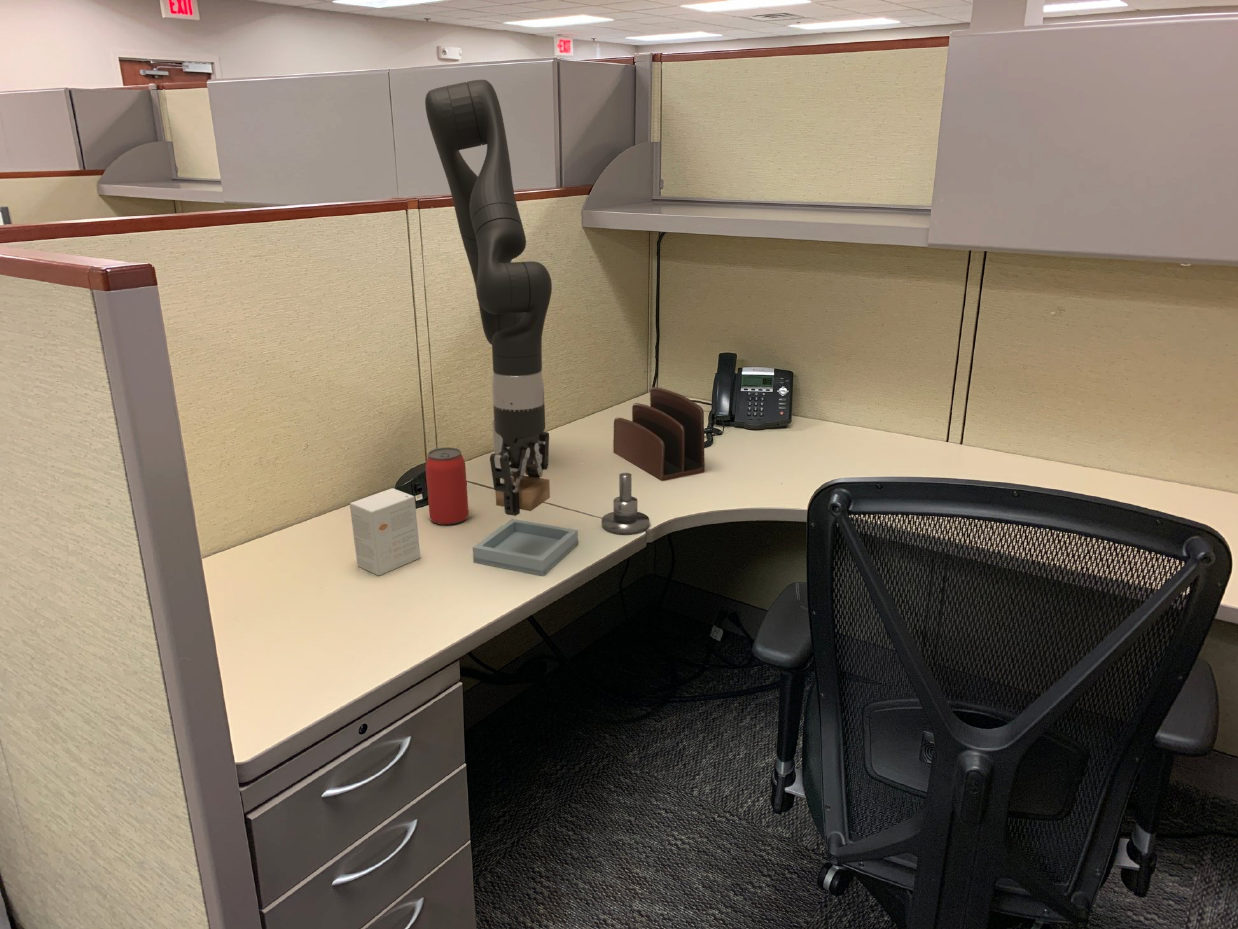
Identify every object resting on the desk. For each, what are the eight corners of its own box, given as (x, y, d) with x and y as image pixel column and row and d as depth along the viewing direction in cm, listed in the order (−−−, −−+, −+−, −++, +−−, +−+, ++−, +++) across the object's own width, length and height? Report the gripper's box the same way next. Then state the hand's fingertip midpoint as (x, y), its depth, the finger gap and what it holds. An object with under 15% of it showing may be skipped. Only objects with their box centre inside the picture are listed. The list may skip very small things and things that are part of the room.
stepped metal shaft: (593, 530, 144) (593, 479, 141) (613, 512, 151) (612, 464, 148) (638, 537, 141) (638, 486, 138) (656, 519, 148) (656, 470, 145)
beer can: (431, 528, 145) (425, 460, 141) (428, 513, 151) (423, 448, 147) (471, 523, 147) (466, 456, 143) (466, 509, 153) (462, 444, 149)
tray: (473, 562, 133) (472, 547, 132) (512, 532, 144) (512, 518, 143) (543, 575, 129) (542, 560, 128) (578, 544, 139) (577, 530, 138)
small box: (399, 549, 138) (392, 487, 134) (421, 558, 135) (415, 495, 131) (355, 566, 132) (348, 502, 129) (378, 577, 129) (371, 511, 125)
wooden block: (530, 511, 129) (530, 492, 128) (496, 505, 132) (495, 486, 131) (549, 497, 134) (549, 479, 133) (516, 492, 137) (515, 474, 136)
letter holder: (653, 445, 187) (653, 381, 182) (705, 473, 170) (707, 403, 166) (612, 453, 182) (611, 387, 178) (661, 482, 166) (662, 411, 161)
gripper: (516, 416, 120) (521, 528, 126) (563, 392, 133) (566, 494, 138) (470, 410, 123) (477, 520, 128) (520, 387, 135) (524, 488, 141)
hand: (523, 506), depth 133 cm, fingers closed on wooden block, 6 cm apart
